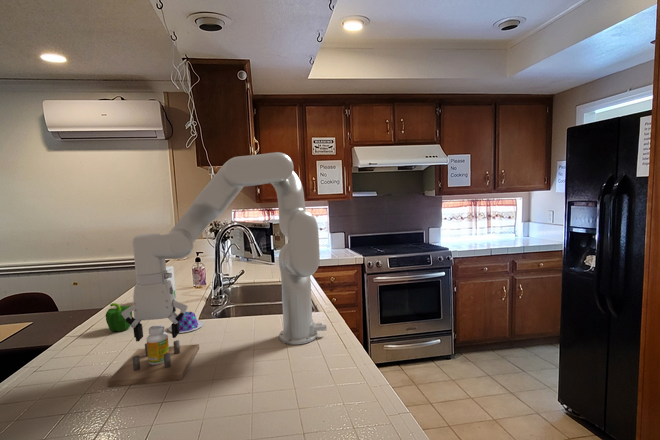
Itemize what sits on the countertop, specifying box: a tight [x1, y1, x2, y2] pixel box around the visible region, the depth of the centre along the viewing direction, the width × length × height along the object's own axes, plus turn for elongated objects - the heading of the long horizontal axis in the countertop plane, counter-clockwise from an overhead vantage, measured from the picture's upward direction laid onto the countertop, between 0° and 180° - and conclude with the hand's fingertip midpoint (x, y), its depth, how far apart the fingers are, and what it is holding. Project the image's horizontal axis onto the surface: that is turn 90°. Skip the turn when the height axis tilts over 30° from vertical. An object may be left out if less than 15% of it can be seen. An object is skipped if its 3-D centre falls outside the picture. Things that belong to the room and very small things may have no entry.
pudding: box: [167, 311, 205, 334], centre depth 126 cm, size 12×12×5 cm
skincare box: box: [166, 265, 177, 300], centre depth 157 cm, size 8×7×16 cm
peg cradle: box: [107, 340, 200, 387], centre depth 98 cm, size 18×18×5 cm
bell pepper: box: [105, 302, 133, 332], centre depth 125 cm, size 8×8×10 cm
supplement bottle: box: [146, 324, 170, 365], centre depth 98 cm, size 5×5×10 cm
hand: (157, 337), depth 97 cm, fingers open, 9 cm apart
